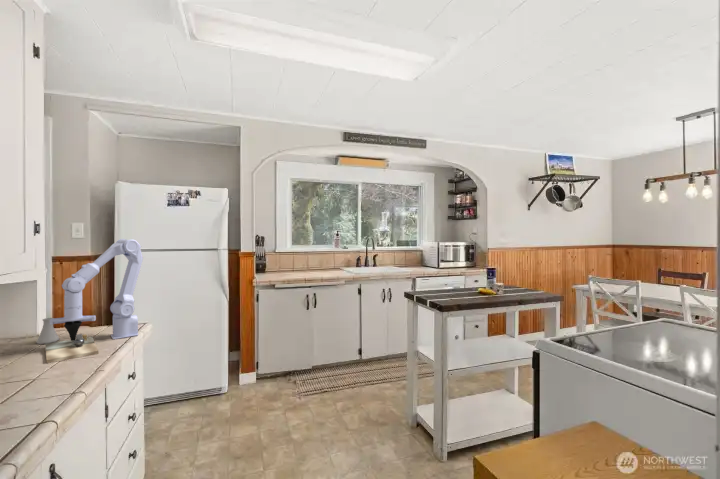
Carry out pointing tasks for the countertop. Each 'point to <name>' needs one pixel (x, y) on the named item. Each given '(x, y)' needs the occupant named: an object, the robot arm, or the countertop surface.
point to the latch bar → (79, 340)
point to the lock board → (70, 349)
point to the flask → (47, 333)
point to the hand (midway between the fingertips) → (73, 339)
